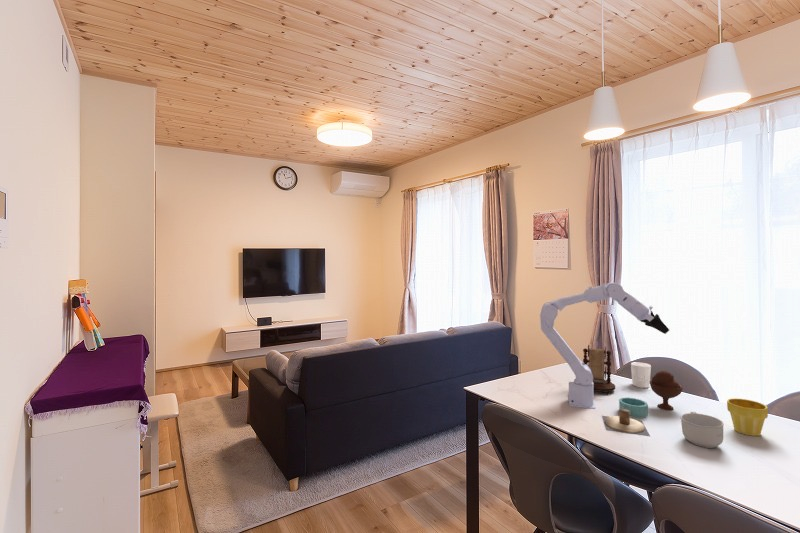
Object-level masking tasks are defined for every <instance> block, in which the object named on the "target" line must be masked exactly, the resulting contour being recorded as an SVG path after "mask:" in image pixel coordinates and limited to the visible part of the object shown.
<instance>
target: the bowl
mask: <svg viewBox="0 0 800 533" xmlns="http://www.w3.org/2000/svg"><path fill="white" fill-rule="evenodd" d="M619 409H627V410H629V411H630V418H638V419H642V418H647V417H648V416H649V404H648V402H647V401H644V400H642V399H639V398H635V397H628V396H627V397H620V398H619V399H618V410H619Z"/></svg>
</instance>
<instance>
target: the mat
mask: <svg viewBox="0 0 800 533" xmlns="http://www.w3.org/2000/svg"><path fill="white" fill-rule="evenodd" d="M601 417H602V421H603V424H604V427H605V431H611V432H617V433H623V434H624V433H625V434H632V435H637V436H645V437H651V435H650V433H649V431H648V429H647V428H646V426H645V424H644V422H643V421H642V420H639V419H638V420H637V419H636V420H637V421H639V422H641V423H642V424H643V425H644V426H645V430H644V431H643V432H639V433H629V432H623V431H619V430H616V429H613V428H611V427H609V426H608V425H607V424H606V423H605V419H606V418H607V417H610V416H608V415H602V416H601Z"/></svg>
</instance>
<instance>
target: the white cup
mask: <svg viewBox="0 0 800 533" xmlns="http://www.w3.org/2000/svg"><path fill="white" fill-rule="evenodd" d="M651 369H652V366H651V364H650V363H646V362H639V361H638V362H637V361H635V362H630V370H631V371H630V372H631V380H632V381H631V382H632V383H631V384H632V386H634V387H636V388H643V389H646V388H650V381H651V373H652V372H651V371H652V370H651Z"/></svg>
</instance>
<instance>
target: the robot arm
mask: <svg viewBox="0 0 800 533" xmlns="http://www.w3.org/2000/svg"><path fill="white" fill-rule="evenodd" d="M609 298H611V299H613V300H614V301H616V302H617V304H618V305H619V306H621V307H622V308H623V309H624V310H626V311H627V312H628V313H629V314H630V315H632V316H633V317H635V318H636V319H637V321H639V322H641V323H644V325H645V326H647V327H650V328H653V329H655V330H657V331H659V332H661V333H662V334H664V335H666V334H667V333H668V332H670V328H668V326H667V325H666V324H665V323H664V322H663V321H662V319H661V318H660V315H659V314H658V313H656V314H655V315H654V313H653V311H652V309H653V308H654V307H653V306H652V305H649V307H648V306H647V305H646V304H644V303H643V302H641V300H640V299H638V298H637V297H636V296H634V295H633V294H631V293H630V292H628V291H627V290H626V289H624V288H623V286H622V285H621V284H618V283H616V282H607V283H602V284H601V285H598V286H594V287H593V285H592V286H588V288H585V290H584V292H582V293H578V294H574V295H569V296H563V297H558V298H557V299H553V300H551V301H549V302H545V303H544V304H543V305H542V307H541V310H540V314H539V319H540V330H541V331H542V333H543V334H544V335H545V336H546V338H547V339H548V340H549V341H550V343H551V344H552V346H553V347H554V348H555V349H556V351H557V352H558V353H559V355H561V358H563V360H565V362H566V363H567V365H568V366H569V367H570V369H571V372H573V374H574V375H575V378H574V380H573V381H568V395H567V400H568V405H569V406H570V407H575V408H576V407H577V408H585V409H593V410H595V409H596V406H595V402H594V383H593V382H592V381H593V375H592V373H591V369H590V367H589V366H588V364H587V365H585V364H584V362H583V360H582V359H580V358H579V357H578V356H577V354H576V353H575V352H574V350H572V348H571V347H570V346H569V345H568V343H567V342H566V341H565V339H564V338H563V336H561V334H560V333H559V332H558V331H557V329H555V327H554V324H555V320H556V318H557V317H558V314H559V312H561V311H563V310H564V308H565V307H567V306H571V305H575V304H578V303H582V302H588V303H590V304H592V303H596V302H600V301H604V300H608V299H609Z"/></svg>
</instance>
